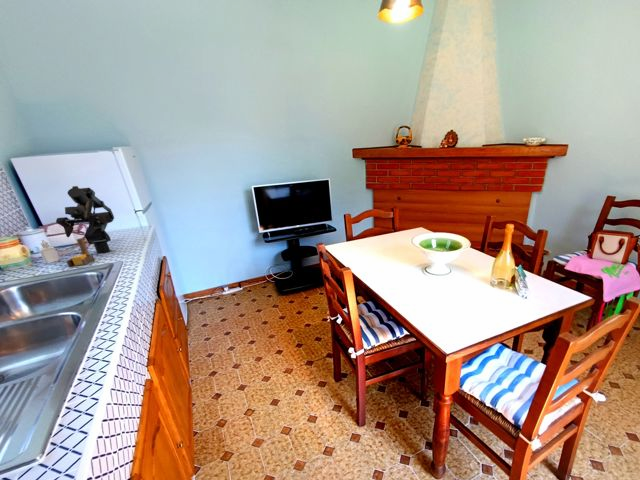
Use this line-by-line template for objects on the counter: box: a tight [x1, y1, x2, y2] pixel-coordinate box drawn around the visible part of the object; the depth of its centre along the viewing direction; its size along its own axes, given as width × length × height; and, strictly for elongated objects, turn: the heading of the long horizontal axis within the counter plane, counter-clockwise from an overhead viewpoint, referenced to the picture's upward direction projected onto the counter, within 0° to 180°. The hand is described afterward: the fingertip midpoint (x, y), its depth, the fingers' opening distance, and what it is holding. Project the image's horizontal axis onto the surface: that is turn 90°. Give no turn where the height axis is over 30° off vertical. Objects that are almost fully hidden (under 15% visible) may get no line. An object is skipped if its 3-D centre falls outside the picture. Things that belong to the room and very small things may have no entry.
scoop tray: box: [65, 237, 95, 268], centre depth 145 cm, size 10×7×12 cm
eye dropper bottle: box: [38, 239, 61, 264], centre depth 150 cm, size 4×6×12 cm
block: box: [71, 254, 87, 265], centre depth 146 cm, size 4×4×4 cm
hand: (78, 236), depth 146 cm, fingers open, 9 cm apart
